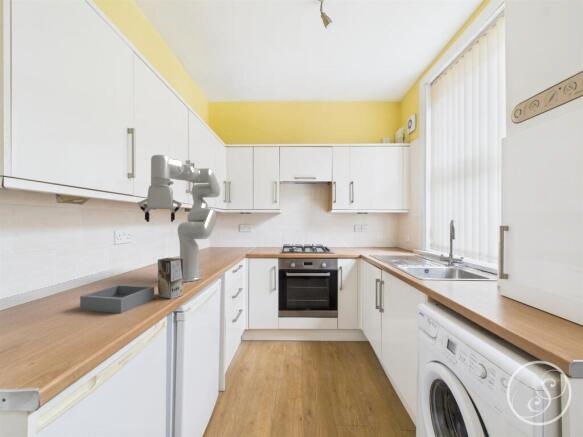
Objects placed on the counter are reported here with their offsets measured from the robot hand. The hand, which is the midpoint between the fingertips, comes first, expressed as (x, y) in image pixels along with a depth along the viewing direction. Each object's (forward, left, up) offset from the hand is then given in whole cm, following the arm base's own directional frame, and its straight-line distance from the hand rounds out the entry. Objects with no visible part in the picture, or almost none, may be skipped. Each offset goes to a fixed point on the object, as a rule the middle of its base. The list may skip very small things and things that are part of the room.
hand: (160, 221), depth 111 cm
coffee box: (+1, +6, -33) cm, 33 cm away
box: (+14, -7, -32) cm, 36 cm away
